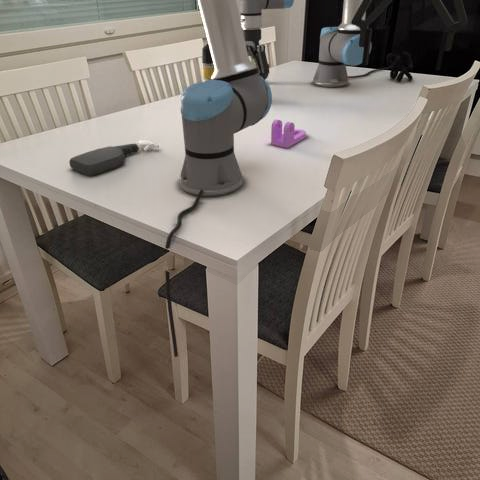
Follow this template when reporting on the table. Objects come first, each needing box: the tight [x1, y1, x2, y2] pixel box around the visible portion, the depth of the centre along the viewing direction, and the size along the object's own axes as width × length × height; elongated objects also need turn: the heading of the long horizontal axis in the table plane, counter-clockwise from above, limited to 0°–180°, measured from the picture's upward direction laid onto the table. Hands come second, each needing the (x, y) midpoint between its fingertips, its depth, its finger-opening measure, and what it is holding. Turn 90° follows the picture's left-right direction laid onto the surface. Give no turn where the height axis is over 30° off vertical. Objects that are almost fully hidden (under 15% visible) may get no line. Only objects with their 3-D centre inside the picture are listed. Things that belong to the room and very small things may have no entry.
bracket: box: [270, 119, 307, 149], centre depth 134 cm, size 13×6×7 cm, turn 143°
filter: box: [201, 40, 215, 81], centre depth 171 cm, size 6×6×30 cm
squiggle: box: [385, 51, 414, 83], centre depth 198 cm, size 11×10×15 cm
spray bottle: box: [68, 139, 160, 177], centre depth 124 cm, size 3×11×24 cm
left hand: (400, 67), depth 86 cm, fingers open, 13 cm apart
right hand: (251, 89), depth 173 cm, fingers open, 12 cm apart
